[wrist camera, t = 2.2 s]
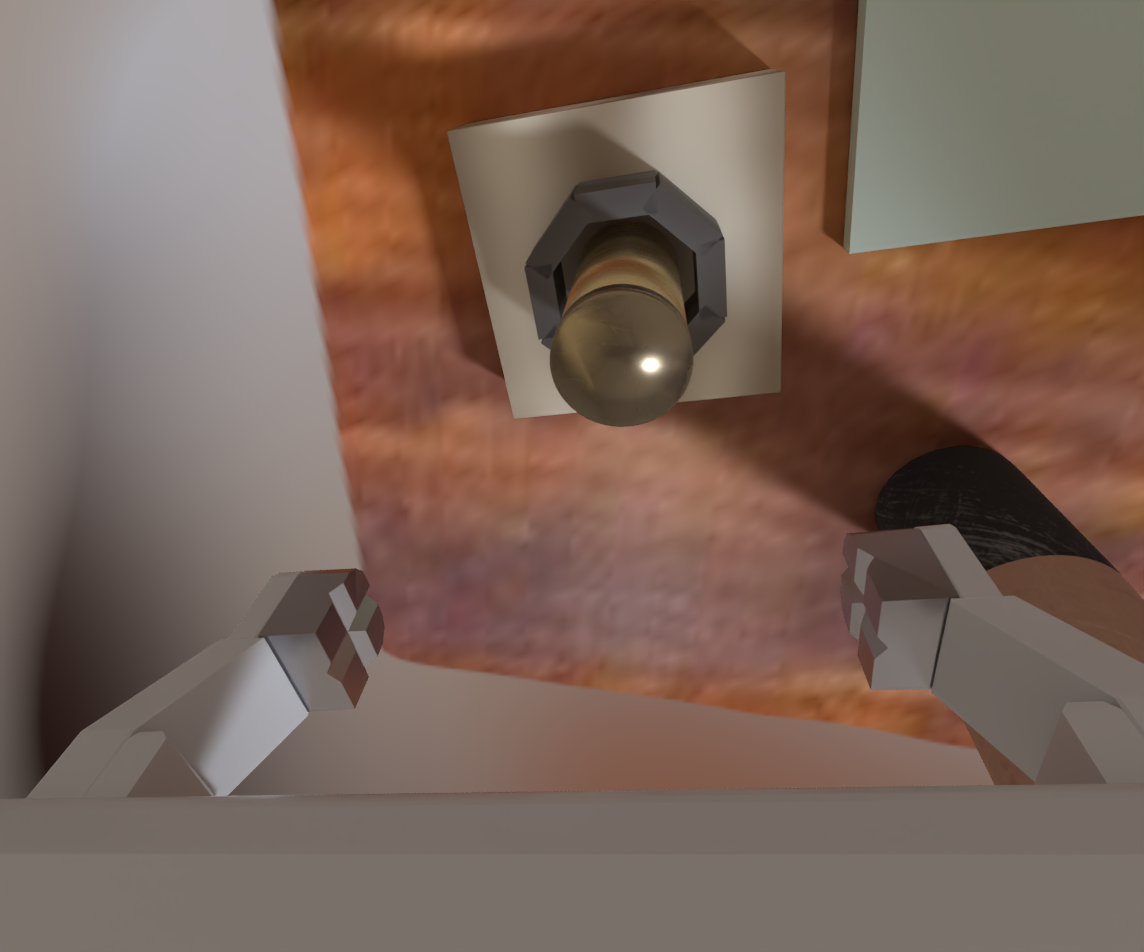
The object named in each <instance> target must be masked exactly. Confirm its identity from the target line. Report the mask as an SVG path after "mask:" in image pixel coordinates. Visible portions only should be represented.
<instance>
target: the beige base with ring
mask: <svg viewBox="0 0 1144 952" xmlns="http://www.w3.org/2000/svg"><path fill="white" fill-rule="evenodd" d="M447 135H448V139H449V144H450V148H451V152H452V156H453V161H454V165H455V169H456V173H457V178H458V182H459V186H460V190H461V195H462V199H463V203H464V207H465V212H466V216H467V220H468V224H469V229H470V233H471V237H472V241H473V246H474V250H475V254H476V258H477V263H478V267H479V271H480V275H481V280H482V284H483V288H484V292H485V297H486V301H487V305H488V309H489V314H490V318H491V322H492V326H493V331H494V335H495V339H496V343H497V348H498V352H499V356H500V360H501V365H502V369H503V373H504V378H505V382H506V386H507V390H508V395H509V399H510V403H511V407H512V412H513V416H514V419H516V418H526V417H536V416H546V415H556V414H566V413H576V411H575V410H574V409H572V408H571V407H570V406H569V405H568V404H567V403H566V402H565V400H564V399H563V398H562V396H561V395H560V393H559V392H558V390H557V388H556V386H555V384H554V381H553V378H552V374H551V370H550V350H551V345H552V342H553V338H554V335H555V332H556V329H557V326H558V324H559V322H560V320H561V318H562V315H563V312H564V309H565V306H566V302H567V299H568V296H569V293H570V290H571V286H572V283H573V280H574V277H575V273H576V270H577V267H578V264H579V261H580V257H581V254H582V252H583V250H584V248H585V246H586V244H587V243H588V241H589V240H590V239H591V238H592V237H593V236H594V235H595V234H596V233H597V232H598V231H599V230H601V229H602V228H604V227H606V226H608V225H610V224H613V223H616V222H620V221H638V222H643V223H646V224H649V225H651V226H653V227H655V228H656V229H657V230H659V231H660V232H661V233H662V234H664V235H665V236H666V238H667V239H668V240H669V241H670V243H671V245H672V246H673V248H674V251H675V253H676V257H677V261H678V267H679V274H680V281H681V287H682V294H683V301H684V307H685V314H686V321H687V326H688V329H689V332H690V336H691V342H692V348H693V371H692V375H691V379H690V382H689V384H688V386H687V389H686V390H685V392H684V394H683V395H682V397H681V398H680V399H679V400H678V402H686V401H696V400H706V399H717V398H727V397H737V396H747V395H757V394H767V393H777V392H781V345H782V276H783V207H784V138H785V71H782V70H775V69H767V70H762V71H756V72H751V73H745V74H739V75H734V76H728V77H723V78H717V79H712V80H706V81H701V82H695V83H690V84H684V85H678V86H673V87H667V88H662V89H656V90H651V91H645V92H640V93H634V94H628V95H623V96H617V97H612V98H606V99H601V100H595V101H590V102H584V103H578V104H573V105H567V106H562V107H556V108H551V109H545V110H540V111H534V112H529V113H523V114H517V115H512V116H506V117H501V118H495V119H490V120H484V121H479V122H473V123H467V124H464V125H462V126H459V127H457V128H454V129H452V130H450V131H447Z"/></svg>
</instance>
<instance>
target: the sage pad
mask: <svg viewBox="0 0 1144 952" xmlns="http://www.w3.org/2000/svg"><path fill="white" fill-rule="evenodd" d="M1142 215H1144V0H859V6H858V22H857V37H856V53H855V69H854V85H853V101H852V117H851V132H850V148H849V164H848V180H847V196H846V211H845V227H844V243H843V248H844V249H845V250H846V251H847V252H848V253H849V254H853V253H861V252H868V251H876V250H883V249H891V248H899V247H906V246H914V245H921V244H929V243H937V242H944V241H952V240H959V239H967V238H974V237H982V236H990V235H997V234H1005V233H1012V232H1020V231H1028V230H1035V229H1043V228H1050V227H1058V226H1066V225H1073V224H1081V223H1088V222H1096V221H1104V220H1111V219H1119V218H1126V217H1134V216H1142Z"/></svg>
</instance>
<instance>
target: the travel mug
mask: <svg viewBox="0 0 1144 952" xmlns="http://www.w3.org/2000/svg"><path fill="white" fill-rule="evenodd" d="M876 523H877V526H878V529H879V531H882V530H895V529H908V528H915V527H921V526H932V525H942V524H951V525H952V526H954V527H956V529H957V530H958V531H959V533H960V534H961V536H962V537H963V539H964V540H965V542H966V543H967V544H968V546H969V547H970V549H971V550H972V552H973V553H974V555H975V556H976V557H977V559H978V560H979V562H980V563H981V565H982V566H983V568H984V569H985V570H986V572H987V573H988V575H989V576H990V578H991V579H992V581H993V582H994V583H995V585H996V586H997V588H998V589H999V591H1000V592H1001V594H1002V595H1003V596H1016V597H1018V598H1020V599H1022V600H1023V601H1025V602H1027V603H1029V604H1031V605H1033V606H1035V607H1037V608H1039V609H1041V610H1042V611H1044V612H1046V613H1048V614H1050V615H1052V616H1054V617H1056V618H1058V619H1059V620H1061V621H1063V622H1065V623H1067V624H1069V625H1071V626H1073V627H1075V628H1076V629H1078V630H1080V631H1082V632H1084V633H1086V634H1088V635H1090V636H1092V637H1094V638H1095V639H1097V640H1099V641H1101V642H1103V643H1105V644H1107V645H1109V646H1111V647H1112V648H1114V649H1116V650H1118V651H1120V652H1122V653H1124V654H1126V655H1128V656H1130V657H1131V658H1133V659H1135V660H1137V661H1139V662H1141V663H1143V664H1144V599H1143V598H1142V597H1141V596H1140V595H1139V594H1138V593H1137V591H1136V590H1135V589H1134V588H1133V587H1132V586H1131V585H1130V584H1129V582H1128V581H1127V580H1126V579H1125V578H1124V577H1123V576H1122V575H1121V574H1120V573H1119V572H1118V571H1117V570H1116V569H1115V568H1114V567H1113V566H1112V565H1111V563H1110V562H1109V561H1108V560H1107V559H1106V558H1105V557H1104V556H1103V555H1102V554H1101V553H1100V552H1099V551H1098V550H1097V549H1096V548H1095V547H1094V546H1093V545H1092V544H1091V543H1090V542H1089V541H1088V540H1087V539H1086V538H1085V537H1084V536H1083V535H1082V534H1081V533H1080V532H1079V531H1078V530H1077V529H1076V528H1075V527H1074V526H1073V525H1072V524H1071V522H1070V521H1069V520H1068V519H1067V518H1066V517H1065V516H1064V515H1063V514H1062V513H1061V512H1060V511H1059V510H1058V509H1057V508H1056V507H1055V506H1054V505H1053V504H1052V503H1051V502H1050V501H1049V500H1048V499H1047V498H1046V497H1045V496H1044V495H1043V494H1042V493H1041V492H1040V491H1039V490H1038V489H1037V488H1036V487H1035V486H1034V485H1033V484H1032V483H1031V481H1030V480H1029V479H1028V478H1027V477H1026V476H1025V475H1024V474H1023V473H1022V472H1021V471H1019V470H1018V469H1017V468H1016V467H1015V466H1014V465H1013V464H1012V463H1011V462H1010V461H1008V460H1007V459H1006V458H1004V457H1003V456H1001V455H999V454H997V453H995V452H993V451H990V450H987V449H982V448H978V447H952V448H945V449H941V450H937V451H934V452H931V453H928V454H925V455H923V456H921V457H919V458H917V459H915V460H913V461H911V462H910V463H908V464H907V465H905V466H904V467H902V468H901V469H900V470H899V471H898V472H897V473H895V474H894V475H893V476H892V478H891V479H890V480H889V481H888V482H887V484H886V485H885V486H884V488H883V490H882V491H881V493H880V496H879V498H878V501H877V505H876ZM963 721H964V720H963ZM964 723H965V725H966V727H967V729H968V731H969V733H970V735H971V737H972V739H973V741H974V744H975V746H976V748H977V750H978V752H979V754H980V756H981V758H982V760H983V762H984V764H985V766H986V768H987V770H988V772H989V774H990V776H991V778H992V780H993V783H994V785H1034V783H1035V782H1034V781H1033V780H1032V779H1031V778H1030V777H1029V776H1027V775H1026V774H1025V773H1024V772H1023V771H1022V770H1020V769H1019V768H1018V767H1017V766H1016V765H1015V764H1014V763H1012V762H1011V761H1010V760H1009V759H1008V758H1007V757H1005V756H1004V755H1003V754H1002V753H1001V752H1000V751H999V750H997V749H996V748H995V747H994V746H993V745H992V744H991V743H989V742H988V741H987V740H986V739H985V738H984V737H982V736H981V735H980V734H979V733H978V732H977V731H976V730H974V729H973V728H972V727H971V726H970V725H969V724H967V723H966V722H965V721H964Z"/></svg>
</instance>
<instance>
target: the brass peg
mask: <svg viewBox="0 0 1144 952" xmlns="http://www.w3.org/2000/svg"><path fill="white" fill-rule="evenodd" d="M550 370H551V374H552V378H553V381H554V384H555V386H556V388H557V390H558V392H559V393H560V395H561V396H562V398H563V399H564V400H565V402H566V403H567V404H568V405H569V406H570V407H571V408H572V409H574V410H575V411H576V412H577V413H579V414H580V415H582V416H584V417H585V418H587V419H589V420H592V421H594V422H597V423H600V424H604V425H609V426H618V427H624V426H634V425H639V424H643V423H647V422H649V421H651V420H654V419H656V418H658V417H659V416H661V415H663V414H664V413H666V412H667V411H668V410H670V409H671V408H672V407H673V406H674V405H675V404H676V403H677V402H678V400H679V399H680V398H681V397H682V395H683V394H684V392H685V390H686V389H687V386H688V384H689V382H690V379H691V375H692V371H693V348H692V342H691V336H690V332H689V329H688V326H687V321H686V314H685V307H684V301H683V294H682V287H681V281H680V274H679V267H678V261H677V257H676V253H675V251H674V248H673V246H672V245H671V243H670V241H669V240H668V239H667V238H666V236H665V235H664V234H662V233H661V232H660V231H659V230H657V229H656V228H655V227H653V226H651V225H649V224H646V223H643V222H638V221H620V222H616V223H613V224H610V225H608V226H606V227H604V228H602V229H601V230H599V231H598V232H597V233H596V234H595V235H594V236H593V237H592V238H591V239H590V240H589V241H588V243H587V244H586V246H585V248H584V250H583V252H582V254H581V257H580V261H579V264H578V267H577V270H576V273H575V277H574V280H573V283H572V286H571V290H570V293H569V296H568V299H567V302H566V306H565V309H564V312H563V315H562V318H561V320H560V322H559V324H558V326H557V329H556V332H555V335H554V338H553V342H552V345H551V350H550Z"/></svg>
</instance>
